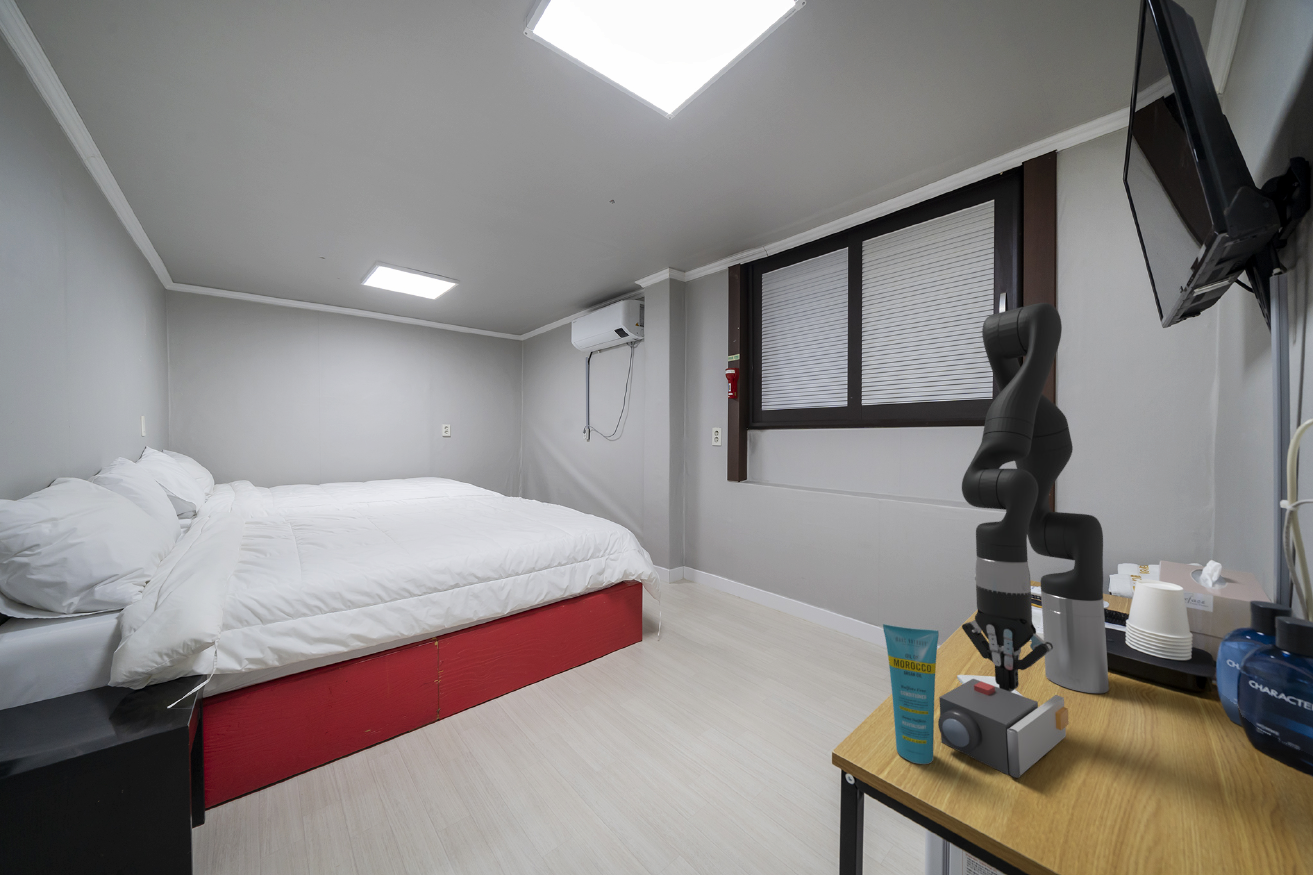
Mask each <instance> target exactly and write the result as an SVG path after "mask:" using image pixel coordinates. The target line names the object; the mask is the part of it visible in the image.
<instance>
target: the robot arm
mask: <svg viewBox="0 0 1313 875" xmlns="http://www.w3.org/2000/svg"><path fill="white" fill-rule="evenodd" d="M981 329H982V331H981V333H982V336H981V337H982V342H983V345H984V349H985V353H986V356H987V360H988V364H989V365H990V369H991V370H992V375H993V378H994V380H995V384H996V386H997V390H998V392H999V394H998V395H997V396H996V397H995V398H994V400H993V401H992V403H991V405H990V406H989V408H988V410H987V413H986V416H985V421H984V428H983V432H982V437H981V443H980V445H979V447H978V449H977V451H976V453H975V455H974V457H973V458H972V460H971V462H970V464H969V466H968V467H967V469H966V471H965V473H964V475H963V478H962V480H961V481H962V482H961V492H962V496H963V498H964V499H965V501H966V502H967V503H968V504H969V505H971V506H972V507H974V508H981V509H991V510H992V509H993V510H1005V514H1004V516H1003V518H1002V519H1001V520H999V521H989V522H982V523H979V524H978V525H977V527H976V529H975V543H976V544H975V545H976V546H975V547H976V549H975V550H976V551H975V552H976V562H975V575H974V580H975V590H976V591H975V594H976V596H975V597H976V609H977V612H976V614H975V615H974V620H972V621H969V622H965V623H964V624H962V625H961V629H962V630H963V632H964V633H965V635H966V636H967V637H968V639H969V640H970V642H971V643H972V644H973V646H974V647H975V648H976V650H977V651H978V653H979V654H980V656H981V657H982V658H983V659H986V660H987V659H988V660H989V661H990V662H992V663H993V664H994V677H995V681H996V683H997V684H999V688H1001V689H1004V690H1007V691H1009V692H1012V691H1013V690H1014V689H1015V690H1017V689H1018V687H1019V685H1020V683H1019V670H1020V671H1025V670H1027V669H1028V668H1031V667H1032V666H1033V665H1035V664H1036V663H1037V662H1038V661H1039V660H1041V659H1042V658H1043V657H1044V667H1045V668H1044V669H1045V677H1046V678H1047V679H1048V680H1049V681H1050V682H1053V683H1054V684H1057V685H1059V686H1061V687H1064V688H1066V689H1070V690H1073V691H1077V692H1082V693H1088V694H1104V693H1107V692H1108V691H1109V688H1110V687H1109V672H1108V655H1107V654H1108V652H1107V637H1106V623H1105V622H1106V621H1105V620H1106V619H1105V618H1106V617H1105V608H1104V606H1105V605H1104V566H1103V565H1104V563H1103V562H1104V534H1103V528H1102V524H1101V522H1100V521H1099V519H1098V518H1097V517H1095V515H1093V514H1092V515H1091V514H1085V513H1073V512H1072V513H1071V512H1061V511H1052V510H1051V507H1050V499H1049V498H1050V493H1051V490H1052V489H1053V486H1054V484H1055V482H1056V480H1057V479H1058V477H1059V476H1060V475H1061V473H1062V472H1063V471H1064V469H1065V467H1066V466H1067V464H1068V463H1069V461H1070V460H1071V457H1072V455H1073V454H1072V453H1073V442H1072V438H1071V433H1070V429H1069V428H1070V427H1069V422H1068V419H1067V417H1066V415H1065V413H1064V412H1063V411H1062V410H1061V409H1060V408H1059V407H1058V406H1057V405H1056V404H1055V403H1054V402H1053V401H1052V400H1050V399H1049V397H1047V396H1046V395H1045V394H1043V392H1044V389H1045V386H1046V383H1047V381H1048V377H1049V376H1050V373H1051V370H1052V367H1053V364H1054V360H1055V357H1056V355H1057V353H1058V349H1059V345H1060V342H1061V338H1062V329H1063V328H1062V319H1061V315H1060V313H1059V311H1058V309H1057V308H1056V307H1055V306H1054V305H1053V304H1052V303H1049V302H1039V303H1035V304H1030V305H1026V306H1021V307H1017V308H1013V309H1009V310H1006V311H1002V312H998V313H994V314H991V315H988V316H987V317H986V318H985V320H984V322H983V324H982V328H981ZM1022 357H1025V359H1024V361H1023V363H1022V365H1021V366H1020V363H1019V360H1018V358H1022ZM1011 462H1015V466H1016V467H1015V468H1001V467H1002V466H1003V465H1005V464H1008V463H1011ZM1028 541H1029V544H1030V547H1031V549H1032V550H1033V552H1035V553H1036V554H1037V555H1041V556H1044V557H1049V558H1054V559H1060V560H1061V559H1062V560H1070V561H1074V565H1073V568H1072V569H1071V570H1067V571H1063V572H1057V573H1056V572H1055V573H1054V572H1053V573H1048V574H1044V575H1043V576H1041V578H1040V594H1041V595H1040V597H1041V598H1040V599H1041V612H1042V616H1041V617H1042V630H1043V633H1042V634H1043V639H1042V638H1041V637H1040V635H1038V633H1037V629H1036V626H1034V624H1033V606H1032V605H1033V604H1032V587H1031V586H1032V584H1031V583H1032V582H1031V573H1030V572H1031V571H1030V568H1029V562H1028ZM1029 641H1031V643H1030V645H1029V646H1030V649H1031V651H1030V652H1029V653H1027V654H1026V655H1025V656H1024V657H1022V659H1020V656H1021V655H1020V654H1021V652H1022V648H1023V647H1024V646H1025V645H1026V644H1027V643H1029Z"/></svg>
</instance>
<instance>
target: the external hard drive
mask: <svg viewBox="0 0 1313 875" xmlns="http://www.w3.org/2000/svg"><path fill="white" fill-rule="evenodd" d="M956 677H957V678H956V680H957V679H958V680H959V681H960V682H959V681H958V680H957V681H958V682H959V684H961V683H962V684H964V683H966V682H968V681H970V680H971V679H976V680H979V681H982V682H984V683H987V684H990V685H993V686H995V687H998V688H999V684H997V683H996V681H995V676H989V675H988V676H987V675H976V674H975V675H973V674H957V676H956ZM962 684H961V685H962ZM1012 693H1015V694H1018V695H1020V696H1023V697H1025V696H1024V695H1023V694H1021V693H1020V692H1019V691H1018V690H1017V689H1014V690H1013V691H1012Z"/></svg>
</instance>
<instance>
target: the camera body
mask: <svg viewBox="0 0 1313 875" xmlns="http://www.w3.org/2000/svg"><path fill="white" fill-rule="evenodd" d="M1023 696H1024V695H1022V696H1020V695H1018V694H1015V693H1012V692H1009V691H1007V690H1004V689H1001V688H998V687H995V686H993V685H990V684H987V683H984V682H982V681H979V680H976V679H971V680H970V681H968V682H966V683H964V684H961V685H958V686H957V687H955V688H954V689H952V690H950V691H948V692H946V693H944V694H942V695H940V696H939V699H938V700H939V718H938V721H937V726H938V730H939V733H940V737H941V738H940V739H941V743H942V744H944V745H947V746H948V747H949V748H952V749H954V750H956V751H958V752H961V753H963V754H964V755H967V756H969V757H971V758H972V759H975V760H977V761H979V762H980V763H983V764H985V765H986V766H989V767H991V768H993V769H995V770H996V771H999V772H1001V773H1003V774H1005V775H1007V776H1009V775H1010V774H1009V758H1008V739H1007V729H1008V728H1010V727H1012V726H1013V725H1015V724H1016V723H1017V722H1019V721H1020V720H1022V719H1023V718H1024V717H1026V716H1027V715H1028V714H1030V713H1031V712H1033V711H1034V710H1035V709H1037V708H1038V707H1039V702H1038V701H1036V700H1034V699H1031V698H1029V697H1026V696H1024V697H1023Z"/></svg>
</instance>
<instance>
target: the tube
mask: <svg viewBox="0 0 1313 875" xmlns="http://www.w3.org/2000/svg"><path fill="white" fill-rule="evenodd" d="M882 628H883V633H884V637H885V645H886V650H887V657H888V667H889V674H890V684H891V685H890V686H891V694H892V705H893V706H892V707H893V709H892V710H893V719H894V734H895V747H896V751H897V753H898V755H899V756H901V758H903V759H905V760H907V761H909V762H911V763H914V764H918V765H928V764H930V763H932V762H933V761H934V732H935V731H934V730H935V693H936V692H935V691H936V690H935V689H936V688H935V687H936V667H937V656H938V654H937V653H938V643H939V630H936V629H929V628H928V629H927V628H913V627H906V626H905V627H904V626H896V625H892V624H891V625H890V624H886V623H883V624H882Z"/></svg>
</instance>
